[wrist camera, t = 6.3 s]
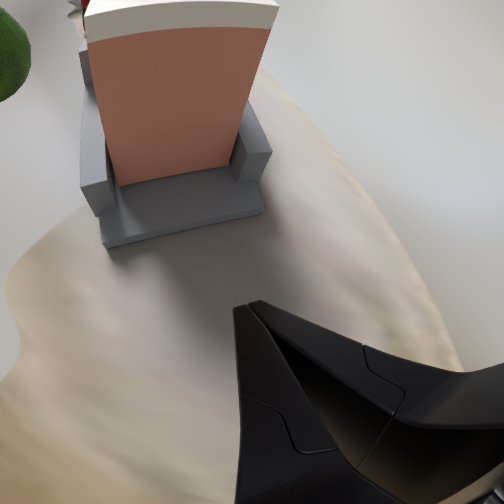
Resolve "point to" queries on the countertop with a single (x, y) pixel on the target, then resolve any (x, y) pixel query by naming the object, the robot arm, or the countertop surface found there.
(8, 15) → the avocado
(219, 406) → the countertop surface
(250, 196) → the housing
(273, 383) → the robot arm
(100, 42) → the pink white rectangular block
